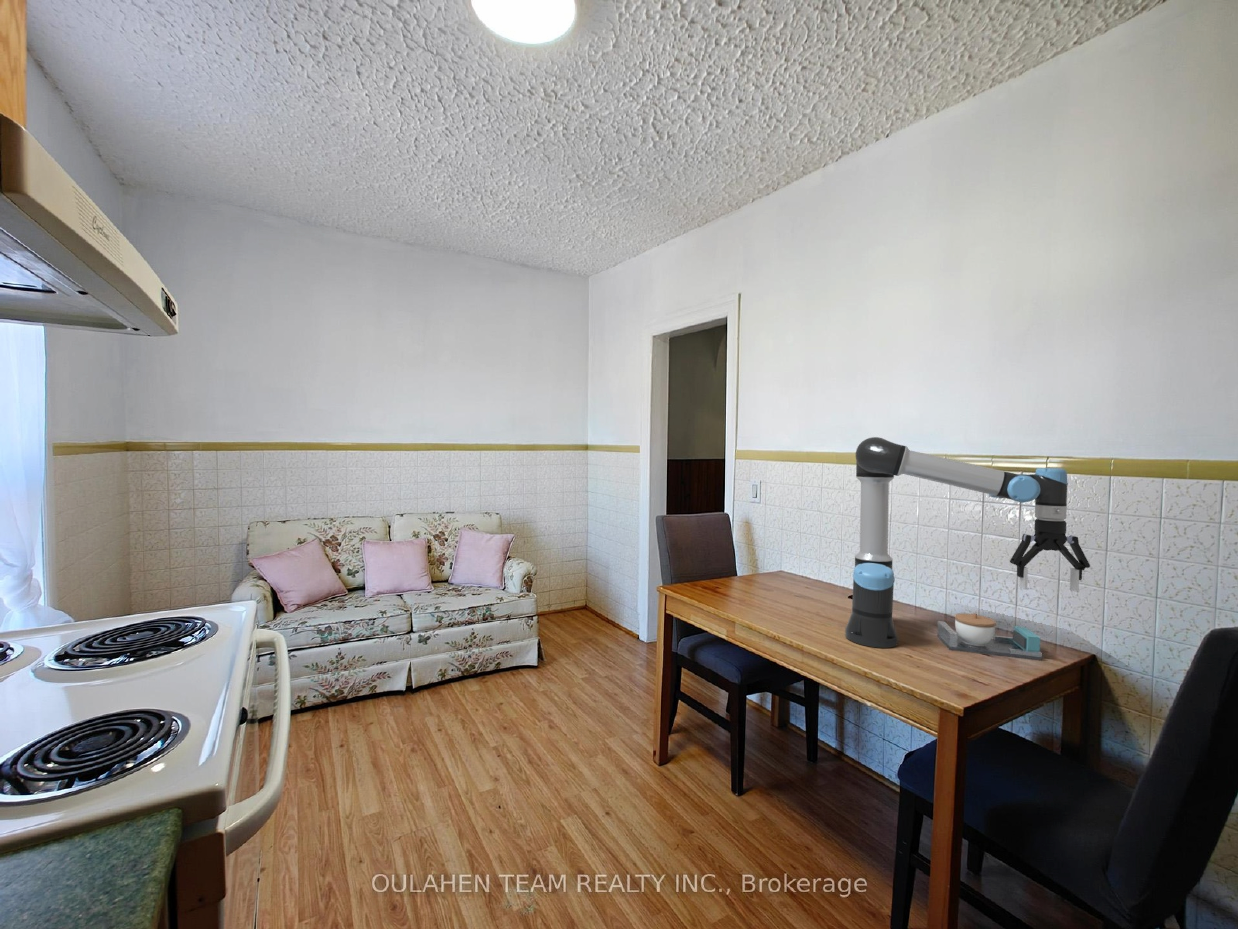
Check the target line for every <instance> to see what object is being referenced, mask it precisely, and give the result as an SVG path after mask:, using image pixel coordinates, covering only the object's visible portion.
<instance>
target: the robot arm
mask: <svg viewBox="0 0 1238 929" xmlns="http://www.w3.org/2000/svg"><path fill="white" fill-rule="evenodd" d="M855 462H856V470H855V471H856V472H855V473H856V474H855V475H856V476H855V478H857V480H858V481H859V482H860V509H859V510H860V515H859V516H860V519H859V520H860V521H859V523H860V525H859V527H860V529H859V552H857V554H855V555H854V568H853V574H852V577H853V582H852V601H851V602H852V605H851V614H850V617H849V620H848V622H847V624H846V626H845V632H844V636H845V638H846V639H847V640H849V641H851V642H852V643H854V644H858V645H861V646H865V647H870V648H879V649H885V648H886V649H889V648H893V647H896V646H898V634H897V631H896V627H895V624H894V620H893V606H894V604H893V603H894V584H895V579H896V578H895V573H894V571H893V558H892V557H891V556H890V555H889V552H888V550H889V549H888V546H889V495H890V494H889V493H890V492H889V488H890V487H889V486H890V482H892V480H893V479H895V476H896V477H899V476H901V475H906V476H910V477H915V478H919V479H923V480H928V481H932V482H936V483H940V484H943V485H944V484H945V485H949V486H954V487H957V488H961V489H966V490H970V491H974V492H978V493H981V494H986V495H989V497H991V498H996V499H1007V500H1011V501H1015V502H1017V503H1029V502H1032V501H1034V502H1035V503H1034V517H1035V519H1034V527H1033V528H1034V535H1031V534H1026V533H1023V534H1022V537H1021V541H1020V542H1019V545H1018V547H1017V548H1016V550H1015V552H1014V553H1013V555H1012V556H1011V558H1010V560H1009V563H1010V564H1011V565H1015V566H1016V576H1017V577H1018V578H1019V588H1021V589H1023V590H1028V579H1029V578H1028V576H1029V575H1028V574H1029V573H1028V572H1029V570H1028V569H1029V567H1027V565H1028V564H1029V563H1030V562H1031V561H1032V560H1033V559H1034V558H1035V557H1036V556H1037V555H1038V554H1039V553H1041V552H1042V551H1055V552H1056V551H1057V552H1060V553H1061V555H1062V556H1063V557H1064V558H1065V559H1066V560H1067V561H1068V563H1070V565H1071V566H1072V567H1071V568H1070V573H1069V574H1070V576H1069V578H1070V580H1069V590H1071V591H1073V592H1076V593H1079V591H1080V586H1079V585H1080V581H1081V580H1082V579H1083V571H1084V570H1085V569H1086V568H1087V569H1088V568H1091V564H1090V562H1089V560H1088V559H1087V556H1086V555H1085V553H1084V551H1083V549H1082V547H1081V546H1080V544H1079V543H1080V541H1079V537H1078V536H1074V535H1068V536H1066V533H1067V521H1066V519H1067V515H1068V514H1067V512H1068V511H1067V509H1068V506H1067V504H1068V501H1067V500H1068V486H1069V482H1068V481H1069V480H1068V471H1067V470H1066V469H1064V468H1060V467H1059V468H1057V467H1056V468H1055V467H1054V468H1053V467H1052V468H1051V467H1050V468H1049V467H1048V468H1047V467H1044V468H1043V467H1038V468H1036V470H1035V472H1034V473H1032V474H1023V473H1022V474H1020V473H1014V472H1008V471H1004V470H1001V469H996V468H991V467H987V466H982V465H977V464H972V463H968V462H964V461H960V460H959V461H958V460H956V459H950V458H947V457H940V456H937V455H933V454H929V453H923V452H919V451H915V450H914V451H913V450H910V448H908V446H906V445H902V444H898V443H895V442H893V441H890V440H887V439H886V438H883V437H877V436H875V437H874V436H873V437H868V438H866V439H864V440H863V441H860V443H859V444H858V446H857V448H856V451H855ZM1033 541H1034V542H1035V543H1033V545H1032V546H1031V548H1030V549H1029V550H1028V548H1029V546H1030V545H1031V543H1032V542H1033ZM1066 542H1067V543H1068V544H1069V547H1070V548H1071V550H1072V552H1073V553H1074V555H1073V554H1072V553H1071V552H1070V550H1069V549H1068V547H1066V545H1065V544H1066ZM1027 550H1028V551H1027ZM1026 551H1027V552H1026Z"/></svg>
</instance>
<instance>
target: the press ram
mask: <svg viewBox="0 0 1238 929" xmlns="http://www.w3.org/2000/svg"><path fill="white" fill-rule="evenodd" d="M1012 637H1013V642H1014V643H1016V644H1017V645H1018V646H1019V647H1021V648H1022V649H1023V650H1027V651H1036V652H1041V649H1040V648H1041V637H1040V636H1038V635H1037V634H1036V633H1035V632H1033V631H1031V630H1030V629H1028V628H1027V627H1026V626H1025V627H1024V626H1018V625H1017V626H1016V625H1014V626H1013V630H1012Z"/></svg>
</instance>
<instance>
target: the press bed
mask: <svg viewBox="0 0 1238 929" xmlns="http://www.w3.org/2000/svg"><path fill="white" fill-rule="evenodd" d="M936 634H937V635H936V636H937V638H939V640H940V641H941V643H943V644H944V645H945V647H946V648H947V649H948V650H949V651H956V652H966V653H973V654H982V655H991V656H999V657H1007V658H1008V657H1009V658H1015V659H1016V658H1017V659H1025V660H1035V661H1042V660H1043V659H1042V658H1043V653H1042V652H1041V651H1040V652H1036V651H1027V650H1023V649H1022V648H1021V647H1019V646H1018V645H1017V644H1016V643H1014V642H1013V636H1003V635H994V636H993V638H992V640H991V641H990V642H989V643H987V644H986V645H985V646H973V645H969V644H966V643H964V642H963V641H962V639H961V638H960V637H959V636H958V634H957V632H956V630H954V629H953V628H952V627H951V626H949V624H948V623H947V622H946V621H941V620H937V632H936Z"/></svg>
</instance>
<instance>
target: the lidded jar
mask: <svg viewBox="0 0 1238 929" xmlns="http://www.w3.org/2000/svg"><path fill="white" fill-rule="evenodd" d="M954 626H955V632H956V633H957V634H958V636H959V637H960V638H961V639H962V641H963V642H964V643H966V644H969V645H973V646H985V645H986V644H987V643H989V642H990V641H991V640H992V639H993V636H995V632H996V626H997V622H996V620H994V619H992V618H990V617H988V616H983V615H978V613H977V612H973V613H966V612H965V613H962V612H961V613H957V614H955V615H954Z"/></svg>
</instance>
